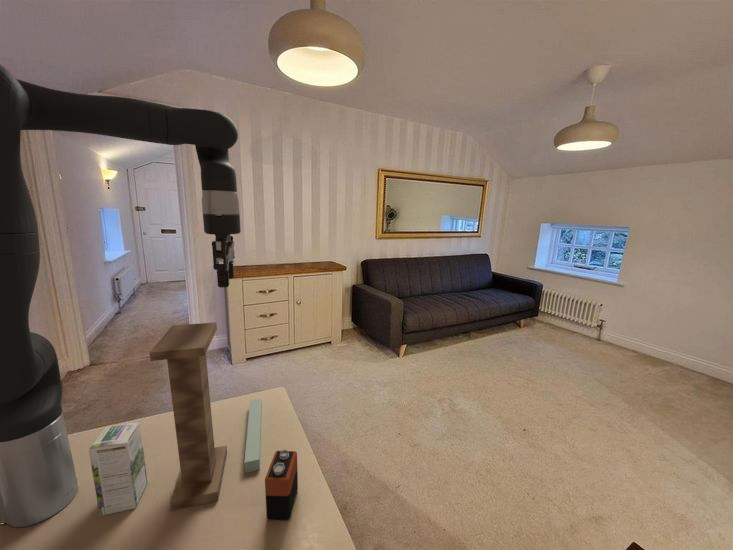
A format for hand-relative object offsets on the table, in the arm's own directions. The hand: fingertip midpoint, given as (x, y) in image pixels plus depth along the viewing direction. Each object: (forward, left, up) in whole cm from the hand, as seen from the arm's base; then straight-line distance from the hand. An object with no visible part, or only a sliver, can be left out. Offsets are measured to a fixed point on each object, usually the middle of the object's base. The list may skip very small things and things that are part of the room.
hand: (226, 282), depth 71 cm
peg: (+5, -6, -38) cm, 39 cm away
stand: (-5, -16, -38) cm, 42 cm away
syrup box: (-18, -17, -38) cm, 46 cm away
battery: (+11, -26, -38) cm, 48 cm away
